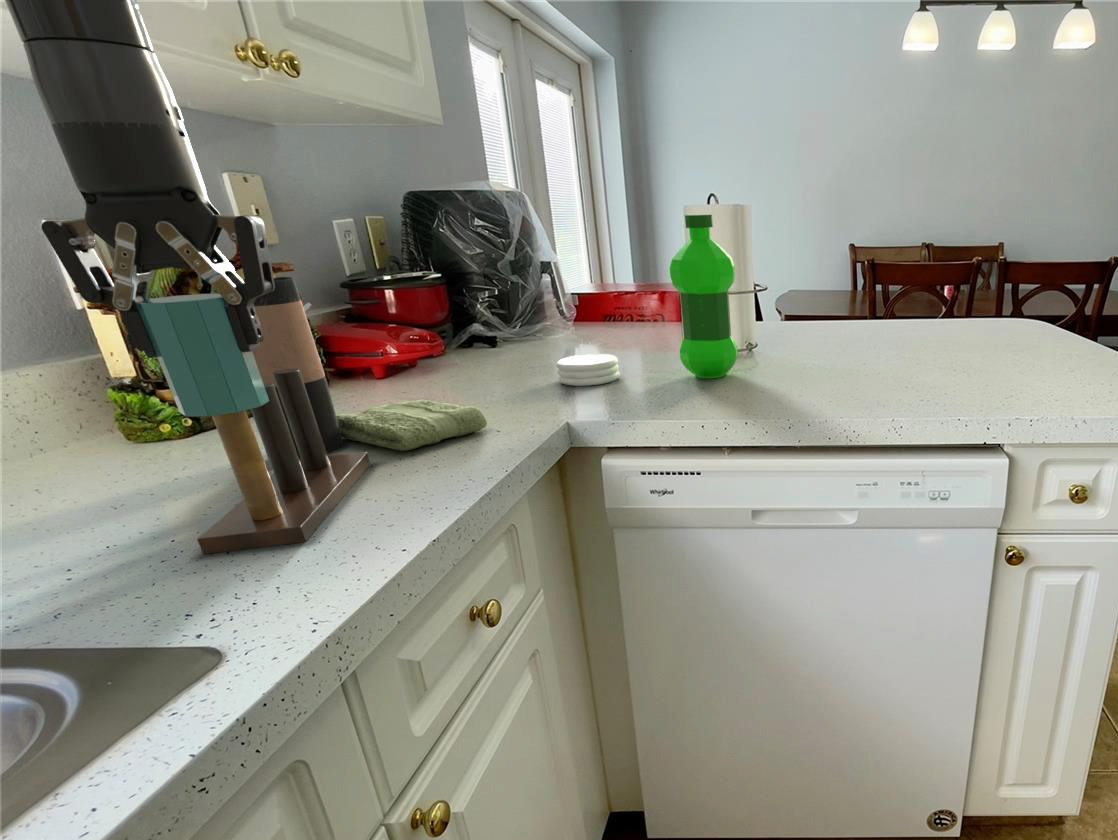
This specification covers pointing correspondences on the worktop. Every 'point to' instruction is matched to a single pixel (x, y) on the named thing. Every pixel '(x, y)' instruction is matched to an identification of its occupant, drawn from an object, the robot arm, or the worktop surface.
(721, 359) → the plastic bottle
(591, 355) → the white stacked discs
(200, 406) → the teal octagonal prism
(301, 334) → the travel mug
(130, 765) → the worktop surface
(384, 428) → the washcloth
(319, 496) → the drying rack
